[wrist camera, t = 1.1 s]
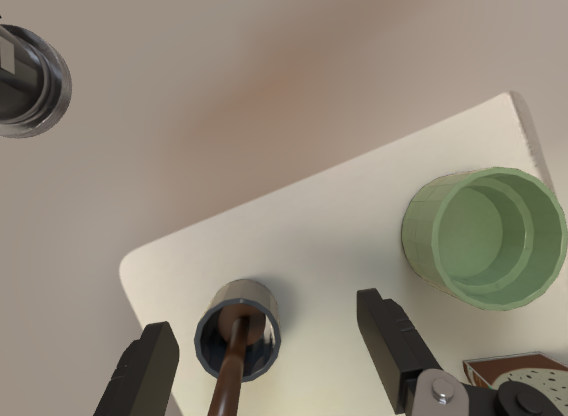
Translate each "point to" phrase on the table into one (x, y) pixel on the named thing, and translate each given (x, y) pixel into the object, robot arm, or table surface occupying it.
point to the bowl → (487, 237)
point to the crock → (214, 346)
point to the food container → (522, 374)
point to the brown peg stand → (234, 354)
